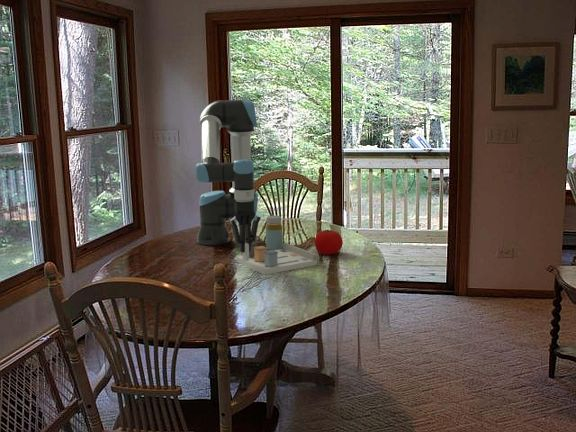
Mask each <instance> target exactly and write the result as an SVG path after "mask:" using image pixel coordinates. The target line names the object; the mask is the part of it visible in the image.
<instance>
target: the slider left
mask: <svg viewBox="0 0 576 432" xmlns="http://www.w3.org/2000/svg"><path fill="white" fill-rule="evenodd" d="M254 247H258V243H256V242H255V241H254V242H252V244H251V251H250V252H249V257H254Z"/></svg>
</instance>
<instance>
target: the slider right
mask: <svg viewBox="0 0 576 432" xmlns="http://www.w3.org/2000/svg"><path fill="white" fill-rule="evenodd" d="M277 254H278V252H277V251H274V250H269V251H264V256H265V265H267V266H275V265H277Z"/></svg>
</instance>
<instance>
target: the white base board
mask: <svg viewBox="0 0 576 432" xmlns="http://www.w3.org/2000/svg"><path fill="white" fill-rule="evenodd" d="M274 251H277V252H278V254H277V265H275V266H267V265H265V261H261V262H258V261H256V260H255V257H249V261H245V260H243V258H242V255H238V256H236V257H235V261H236V263H239V264H241V265H243V266H246V267H247V268H249V269H251V270H254V271H255V272H258V273H260V274H262V275H263V276H265V275H270V274H277V273H281V272H286V271H292V270H297V269H301V268H302V269H303V268H308V267H313V266H317V265H318V254H316V253H314V252H312V251H309V250H306V249H303V248H300V247H298V246H295V245H293V244H290V243H288V242H284V243H283V242H282V249H279V250H274Z"/></svg>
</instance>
